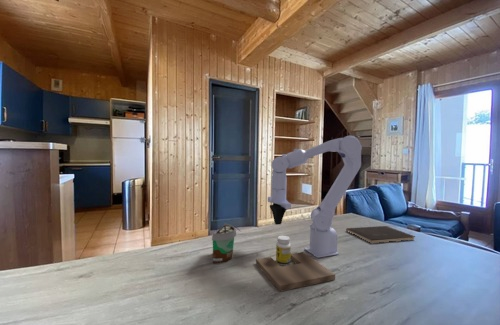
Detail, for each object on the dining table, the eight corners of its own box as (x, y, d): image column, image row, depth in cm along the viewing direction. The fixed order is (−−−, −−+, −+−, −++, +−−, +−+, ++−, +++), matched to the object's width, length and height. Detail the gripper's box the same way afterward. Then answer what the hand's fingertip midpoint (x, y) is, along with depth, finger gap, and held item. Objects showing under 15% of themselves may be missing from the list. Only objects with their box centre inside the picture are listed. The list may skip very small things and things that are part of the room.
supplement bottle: (274, 259, 76) (275, 234, 76) (288, 259, 77) (289, 234, 76) (277, 266, 72) (277, 240, 71) (291, 266, 72) (292, 240, 72)
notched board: (302, 256, 79) (302, 252, 79) (335, 279, 64) (335, 274, 64) (255, 263, 73) (256, 259, 73) (279, 291, 58) (279, 285, 58)
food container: (229, 267, 70) (230, 235, 70) (211, 265, 71) (212, 233, 71) (239, 251, 82) (240, 224, 82) (223, 249, 83) (224, 223, 83)
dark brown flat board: (414, 241, 99) (415, 236, 99) (371, 245, 93) (371, 239, 93) (384, 230, 114) (385, 225, 114) (346, 232, 109) (346, 227, 108)
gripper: (261, 186, 91) (260, 219, 91) (279, 191, 77) (278, 230, 77) (276, 185, 93) (275, 218, 94) (296, 191, 80) (295, 228, 80)
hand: (277, 223), depth 86 cm, fingers closed
